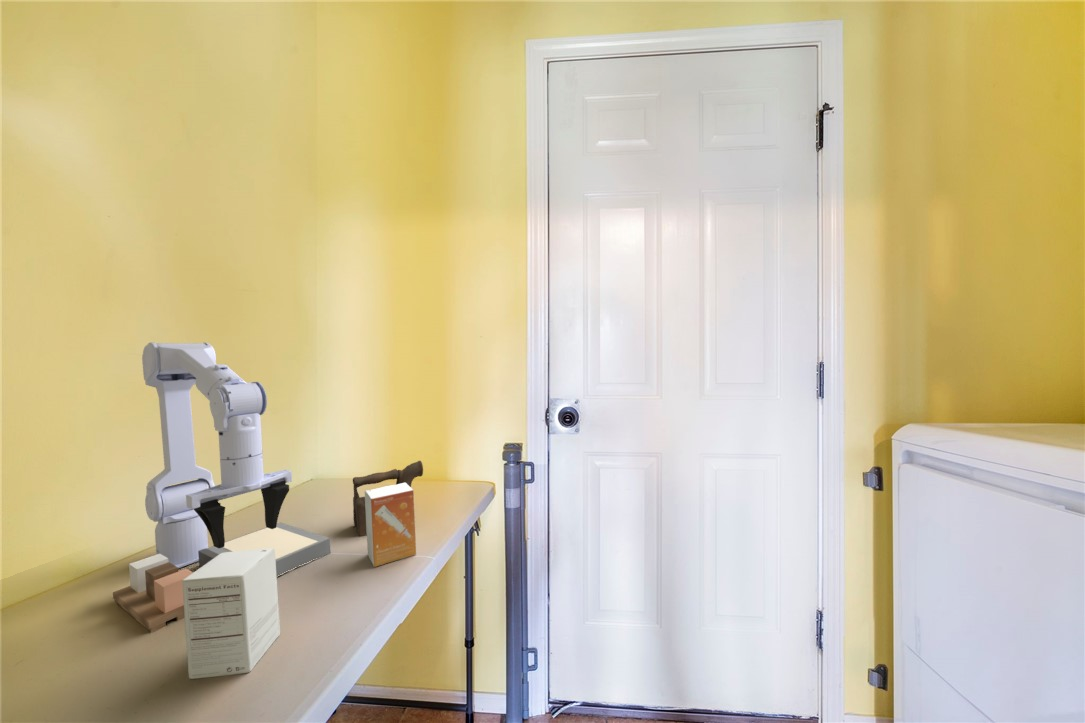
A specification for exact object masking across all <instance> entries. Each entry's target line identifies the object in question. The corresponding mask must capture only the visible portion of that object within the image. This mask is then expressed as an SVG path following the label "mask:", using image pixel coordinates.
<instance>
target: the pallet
mask: <svg viewBox="0 0 1085 723" xmlns="http://www.w3.org/2000/svg"><path fill="white" fill-rule="evenodd" d="M178 571H179V568H178V567H176V566H175V565H173V564H171V563H169V562H168V563H165V564H162V565H159V566H156V567H154V568H151V569H148V570H145V578H146V590H145V591H143V592H140V593H138V592H136V591H135V590H134V589H132V588H131V587H130V585H129V586H126V587H124V588H121V589H118V590H115V591H113V592H112V599H113V600H114V602H115V603H117V605H118V606H120V607H121V608H122V609H123V610H124V611H126V613H128V614H129V615H130V616H131V617H133V618H134V619H135V620H136V621H137V622H138V623H140V624H141V625H142V626H143V627H144V628H145V629H146V630H148V631H149V632H150V633H153V632H156V631H158V630H160V629H163V628H165V627H166V626H167V625H166V622H168V621H171V620H173V619H174V620H176V621H178V622H179V621H180V620H183V619H185V616H184V605H183V606H181V607H178V608H176V609H174V610H172V611H169V612H167V613H164V612H163V611H161V610H160V609H159V608H158V607H156V606H155V590H154V581H155V580H157V579H160V578H162V577H165V576H168V575H170V574H173V573H176V572H178Z"/></svg>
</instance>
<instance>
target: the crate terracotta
mask: <svg viewBox="0 0 1085 723" xmlns="http://www.w3.org/2000/svg"><path fill="white" fill-rule="evenodd" d="M192 573H194V571H191V570H190V569H188V568H184V569H182V570H178V572H176V573H173V574H170V575H168V576H165V577H162V578H160V579H157V580H155V581H154V590H155V606H156V607H158V608H159V609H160V610H161V611H163V612H164V613H167V612H169V611H172V610H174V609H176V608H178V607H181V606H183V605H184V600H183V585H182V580H184V579H185V578H186V577H188V576H189V575H191V574H192Z"/></svg>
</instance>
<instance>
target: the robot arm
mask: <svg viewBox="0 0 1085 723" xmlns="http://www.w3.org/2000/svg"><path fill="white" fill-rule="evenodd" d="M141 360H142V372H143V374H142V375H143V379H144V382H145V385H146V386H149V387H152V388H155V389H156V392H157V396H158V405H159V414H160V416H159V417H160V429H161V430H160V431H161V439H162V452H163V453H162V454H163V462H164V463H163V465H164V468H163V470H162V471H160V472H159V473H158V474H157V475H156V476H154V477H153V478H152V479H150V480H149V481H148V482H147V485H146V488H145V489H146V494H145V501H144V502H145V503H144V504H145V511H146V514H147V515H146V516H147V518H148V519H149V520H150V521H153V522H155V523H156V525H155V528H154V537H155V538H154V540H155V555H157V554H161V555H163V556H165V557H167V558H168V561H169V563H171V564H173V565H175V566H176V567H178V569H181V568H184V567H186V566H188V565H191V564H193V563H194V564H195V563H196V562H199V555H198V551H199V550H202V549H205V548H209V543H208V542H209V539H208V534H209V535H210V538H211V541H212V544H213V546H215V547H217V548H222V547H224V545H225V542H226V540H225V530H224V528H225V527H224V525H225V524H224V523H225V512H226V506H223V505H221V504H222V503H221V502H219V501H223V500H226V499H230V498H233V497H237V496H240V495H244V494H247V493H251V492H255V491H258V490H260V492H261V495H262V500H263V506H264V521H265V528H266V527H267V528H270V529H274V528H276V525H277V523H278V520H279V515H280V512H281V509H282V506H283V504H284V501H285V498H286V497H287V495H288V494H289V492H290V485H289V484H287V483H291V482H293V476H292V475H293V472H292V471H293V470H288V469H284V470H280V471H274V472H269V473H264V472H265V471H264V457H263V456H264V455H263V437H262V434H263V433H262V422H261V420H262V419H261V416H263V414H265V412H266V410H267V406H268V398H267V393H266V389H265V387H264V385H262V383H261V381H260V382H259V381H252V382H247V381H245V380H244V379H243V378H242V377H240V376H239V375H238V374H237V373H236V372H235V371H234V370H232V369H231V368H230V367H229V365H227V364H226V363H225V364H224V363H221V364H218V363H217V355H216V351H215V347H213V345H212V344H211V343H209V342H201V343H199V342H198V343H197V342H196V343H195V342H192V343H191V342H184V343H183V342H182V343H181V342H180V343H179V342H178V343H177V342H174V343H173V342H169V343H168V342H164V343H163V342H162V343H161V342H160V343H159V342H149V343H147V344H146V345H145V346H144V348H143V350H142V357H141ZM194 385H195V387H196V389H197V390H198V391H200V393H201V394H202V395H203V397H205V398H206V399H207V400H208V401H209V410H210V412H211V413H210V414H211V416H212V420H213V427H214V431H217V432H218V448H219V464H220V465H219V466H220V482H221V484H217V485H216V484H215V482H214V478H213V477H214V476H213V473H212V471H210V470H209V469H207V468H205V467H202V466H199V465H197V461H196V460H197V459H196V448H195V436H194V423H193V413H192V412H193V411H192V401H191V390H192V388H193V386H194Z"/></svg>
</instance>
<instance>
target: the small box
mask: <svg viewBox="0 0 1085 723" xmlns="http://www.w3.org/2000/svg"><path fill="white" fill-rule="evenodd" d="M414 495H415V492H414V489H413V488H412V486H411V487H410V486H409V485H407V484H406V483H401V484H396V483H395V484H391V485H386V486H381V487H378V488H373V489H368V490H364V497H365V508H366V532H367V535H366V546H367V556H368V558H369V561H370V562H371V564H372V566H373V568H376V567H379V566H381V565H385V564H389V563H392V562H396V561H399V560H402V559H405V558H409V557H412V556H416V555H417V543H416V542H417V539H416V520H415V519H416V517H415V516H416V515H415V497H414Z"/></svg>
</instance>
